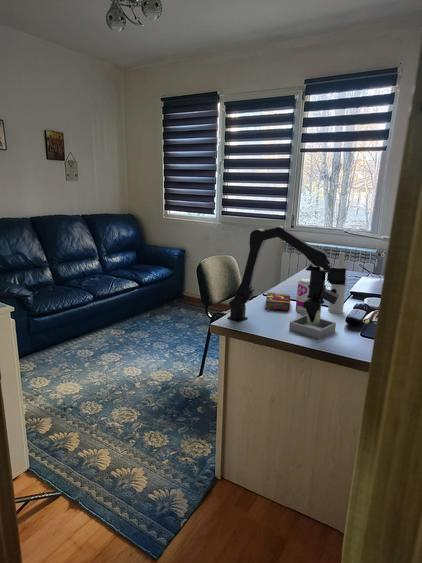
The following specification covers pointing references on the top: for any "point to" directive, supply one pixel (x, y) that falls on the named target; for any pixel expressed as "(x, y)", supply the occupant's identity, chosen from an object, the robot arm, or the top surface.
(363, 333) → the top surface
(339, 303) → the bottle
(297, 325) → the bin
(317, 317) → the cream yellow cylinder
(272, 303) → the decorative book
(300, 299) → the supplement can
